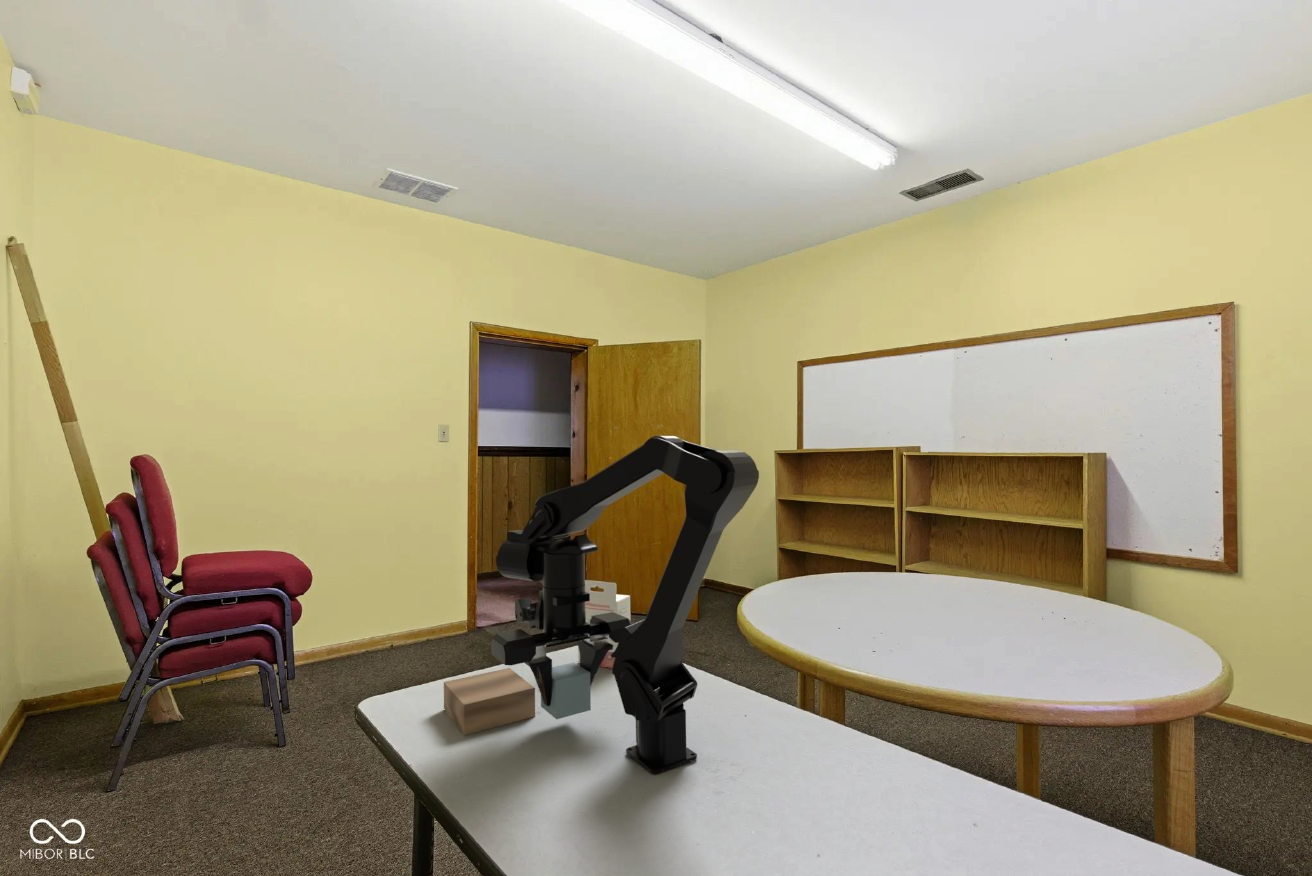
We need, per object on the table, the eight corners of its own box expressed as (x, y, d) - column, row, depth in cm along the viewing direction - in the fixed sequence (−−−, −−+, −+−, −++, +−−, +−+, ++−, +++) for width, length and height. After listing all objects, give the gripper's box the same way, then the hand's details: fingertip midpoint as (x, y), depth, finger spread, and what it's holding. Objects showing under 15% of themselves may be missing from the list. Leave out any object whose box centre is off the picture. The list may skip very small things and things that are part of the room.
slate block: (590, 710, 84) (590, 672, 84) (556, 719, 81) (555, 680, 81) (574, 698, 88) (573, 662, 88) (541, 706, 85) (540, 669, 85)
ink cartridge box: (633, 661, 111) (631, 578, 111) (618, 670, 106) (617, 583, 106) (592, 654, 115) (591, 574, 115) (576, 663, 110) (575, 579, 110)
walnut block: (535, 716, 88) (534, 687, 88) (464, 735, 83) (464, 704, 83) (509, 693, 97) (509, 667, 97) (443, 709, 91) (443, 682, 91)
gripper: (596, 567, 97) (598, 669, 96) (477, 583, 86) (478, 697, 86) (634, 579, 87) (636, 691, 87) (505, 599, 77) (507, 726, 77)
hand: (565, 700), depth 84 cm, fingers closed on slate block, 5 cm apart
